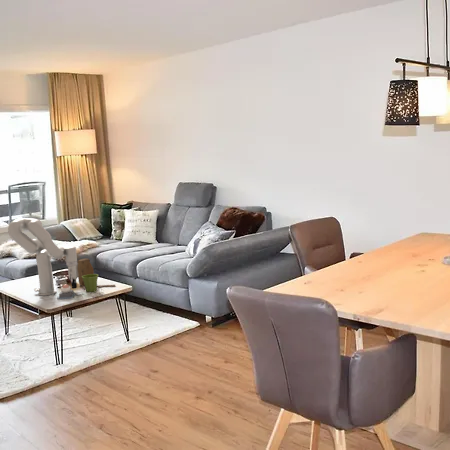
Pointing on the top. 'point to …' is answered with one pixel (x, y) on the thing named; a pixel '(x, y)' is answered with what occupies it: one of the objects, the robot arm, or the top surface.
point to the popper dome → (65, 289)
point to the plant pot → (90, 282)
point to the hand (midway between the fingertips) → (74, 288)
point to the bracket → (105, 285)
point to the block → (84, 269)
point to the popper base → (66, 295)
